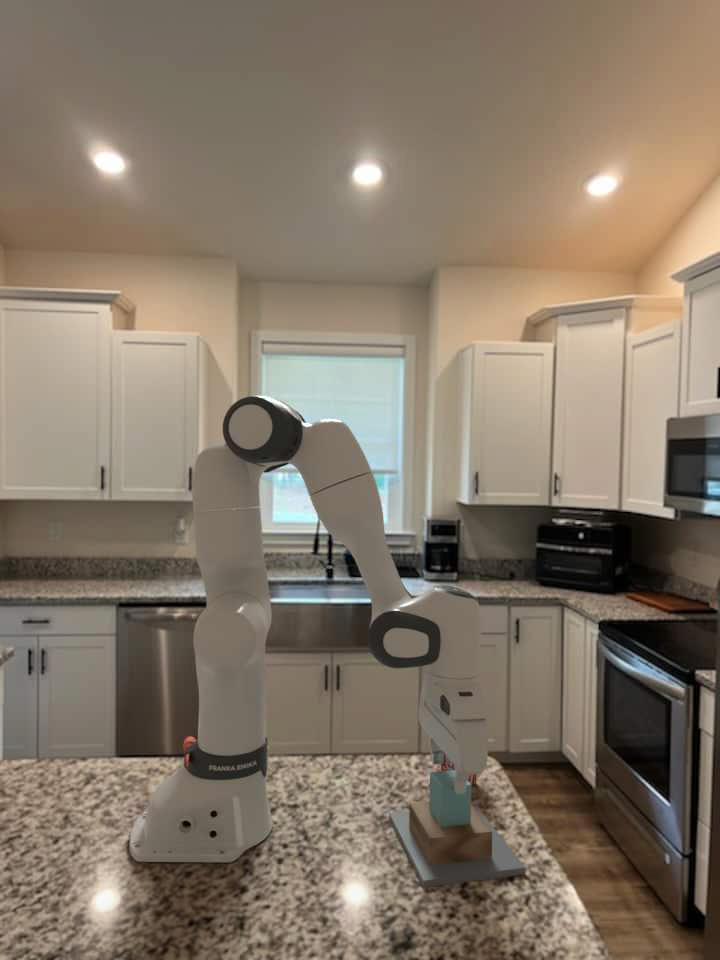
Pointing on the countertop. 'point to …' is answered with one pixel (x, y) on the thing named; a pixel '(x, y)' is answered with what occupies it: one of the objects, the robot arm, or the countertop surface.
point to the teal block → (448, 800)
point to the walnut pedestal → (449, 837)
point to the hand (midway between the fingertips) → (447, 776)
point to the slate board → (459, 872)
